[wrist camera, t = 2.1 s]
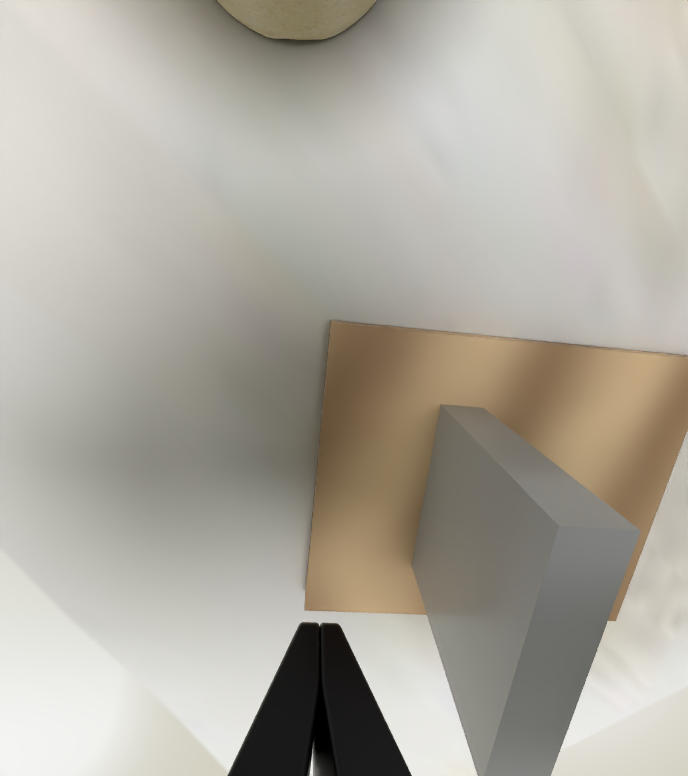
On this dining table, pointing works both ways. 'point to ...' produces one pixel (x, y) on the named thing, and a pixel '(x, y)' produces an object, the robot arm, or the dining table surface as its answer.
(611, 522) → the tile
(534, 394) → the board
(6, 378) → the dining table surface
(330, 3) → the flower pot
